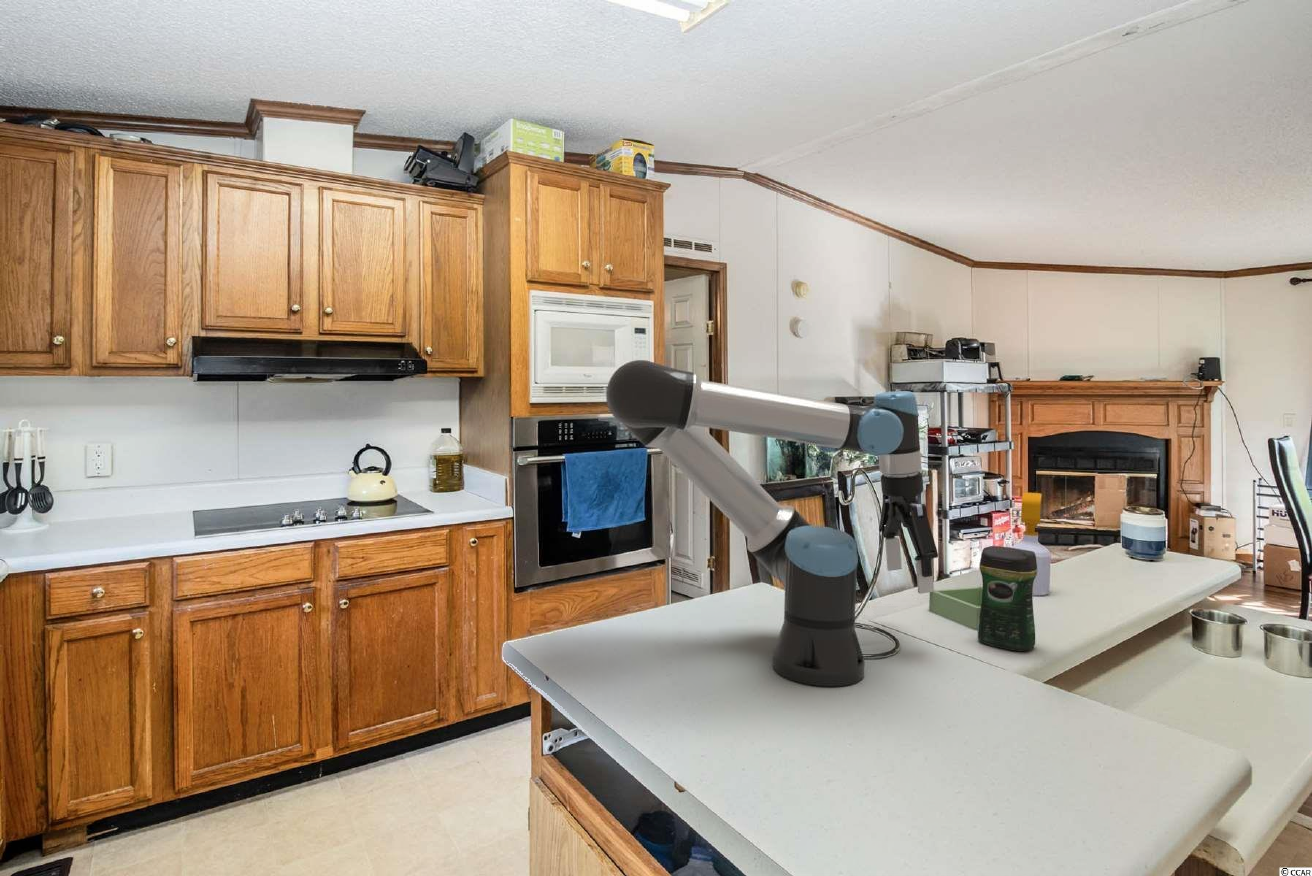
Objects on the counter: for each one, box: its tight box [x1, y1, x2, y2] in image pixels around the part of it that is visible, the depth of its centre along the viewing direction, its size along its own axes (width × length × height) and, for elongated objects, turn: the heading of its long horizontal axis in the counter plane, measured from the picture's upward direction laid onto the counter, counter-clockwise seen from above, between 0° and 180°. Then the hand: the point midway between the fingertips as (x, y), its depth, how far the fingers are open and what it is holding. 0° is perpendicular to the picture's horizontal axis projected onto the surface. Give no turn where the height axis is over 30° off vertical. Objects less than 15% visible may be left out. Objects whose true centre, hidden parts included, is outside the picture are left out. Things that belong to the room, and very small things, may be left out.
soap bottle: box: [1010, 492, 1052, 597], centre depth 171 cm, size 9×9×25 cm
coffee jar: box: [977, 545, 1038, 652], centre depth 131 cm, size 10×8×19 cm
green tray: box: [928, 586, 983, 631], centre depth 148 cm, size 14×14×4 cm
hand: (909, 580), depth 133 cm, fingers open, 13 cm apart
